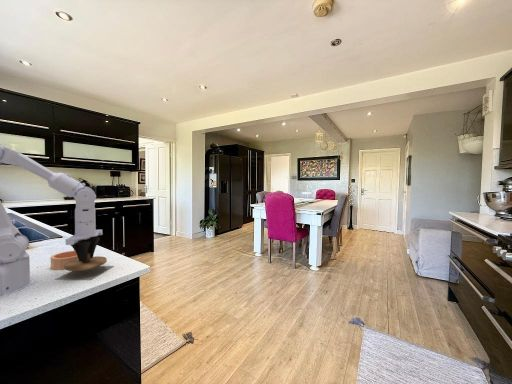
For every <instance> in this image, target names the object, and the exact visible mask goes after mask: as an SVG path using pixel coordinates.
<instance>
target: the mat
mask: <svg viewBox="0 0 512 384" xmlns="http://www.w3.org/2000/svg"><path fill="white" fill-rule="evenodd" d="M114 267H115V266H114V265H101V266H98V267H95V268H91V269H87V270H80V271H69V272H67V273H65V274H63V275H61V276H59V277H56V278H55V279H54V280H55V281H59V280H60V281H92V280H94V279H96V278H97V277H99V276H100V275H102V274H104V273H106V272H107V271H109V270H111V269H112V268H114Z"/></svg>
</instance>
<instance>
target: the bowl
mask: <svg viewBox="0 0 512 384" xmlns="http://www.w3.org/2000/svg"><path fill="white" fill-rule="evenodd" d="M76 259H78V256H77V254H76V252H75V251H74V250H68V251H67V250H66V251H63V252H58V253H55V254H53V255H51V256H50V269H51V270H53V271H63V270H65V269H64V265H65V264H66V263H68V262H70V261H73V260H76ZM65 271H66V270H65Z"/></svg>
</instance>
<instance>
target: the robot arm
mask: <svg viewBox="0 0 512 384" xmlns="http://www.w3.org/2000/svg"><path fill="white" fill-rule="evenodd" d="M2 164H6V165H13V166H18V167H20V168H23V169H24V170H25V171H29V172H30V173H32V174H34V175H36V176H38V177H40V178H42V179H44V180H45V181H47V183H48V187H49V188H52V189H54V190H55V191H57V192H59V193H61V194H63V195H65V196H66V197H68V198H73V199H74V200H75V209H74V234H73V235H71V236H69V237H67V238H65V246H71V247H72V249H73V251H74V250H75V252H76V254H77V256H78V259H79V262H85V261H87V254H88V253H90V259H92V258H93V257H94V255H95V251H96V248H97V245H98V244H99V241H100V240H101V237H99V236H102V235H104V234H103V229H97V228H96V227H97V225H96V207H95V205H96V202H95V200H96V198H97V195H96V193H95V191H94V189H92V188H91V187H89V186H86V183H84V182H82V183H81V182H80V181H78V180H77V179H75V178H73V177H72V175H71V174H70V173H65V172H54V171H52V170H50V169H48V168H47V167H45V166H44V165H42V164H40V163H39V162H37V161H36V160H34V159H32V158H30V157H29V156H27V155H25V154H24V153H21V152H19V151H17V150H15V149H11V148H9V147H7V146H5V145H2V144H0V165H2ZM29 246H30V241H29V238H28V237H27V236H25V235H24V234H22V233H21V232H20V230H19V229H18V228H17V227H16V226H15V225H14V224H13V221H12V220H11V217H10V216H9V213H7V210H6V209H5V206H4V204H3V203H2V201H1V200H0V297H1V296H2V297H6V296H7V297H8V296H9V295H12V294H14V293H16V292H18V291H21V290H22V289H26V288H27V287H29V286H31V285H33V284H36V283H38V282H39V280H38V279H37V280H31V269H30V266H31V265H30V253H27V251H26V250H27V249H28V248H29Z"/></svg>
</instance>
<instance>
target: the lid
mask: <svg viewBox="0 0 512 384" xmlns="http://www.w3.org/2000/svg"><path fill="white" fill-rule="evenodd" d="M107 260H108V259H107V257H105V256H100V255H99V256H93V258H92V259H90V253H88V254H87V261H85V262H79V259H76V260H73V261H70V262H68V263H66V264H65V265H64V269H65V271H69V272H71V271H80V270H87V269H91V268H95V267H98V266H104V264H107Z"/></svg>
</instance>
